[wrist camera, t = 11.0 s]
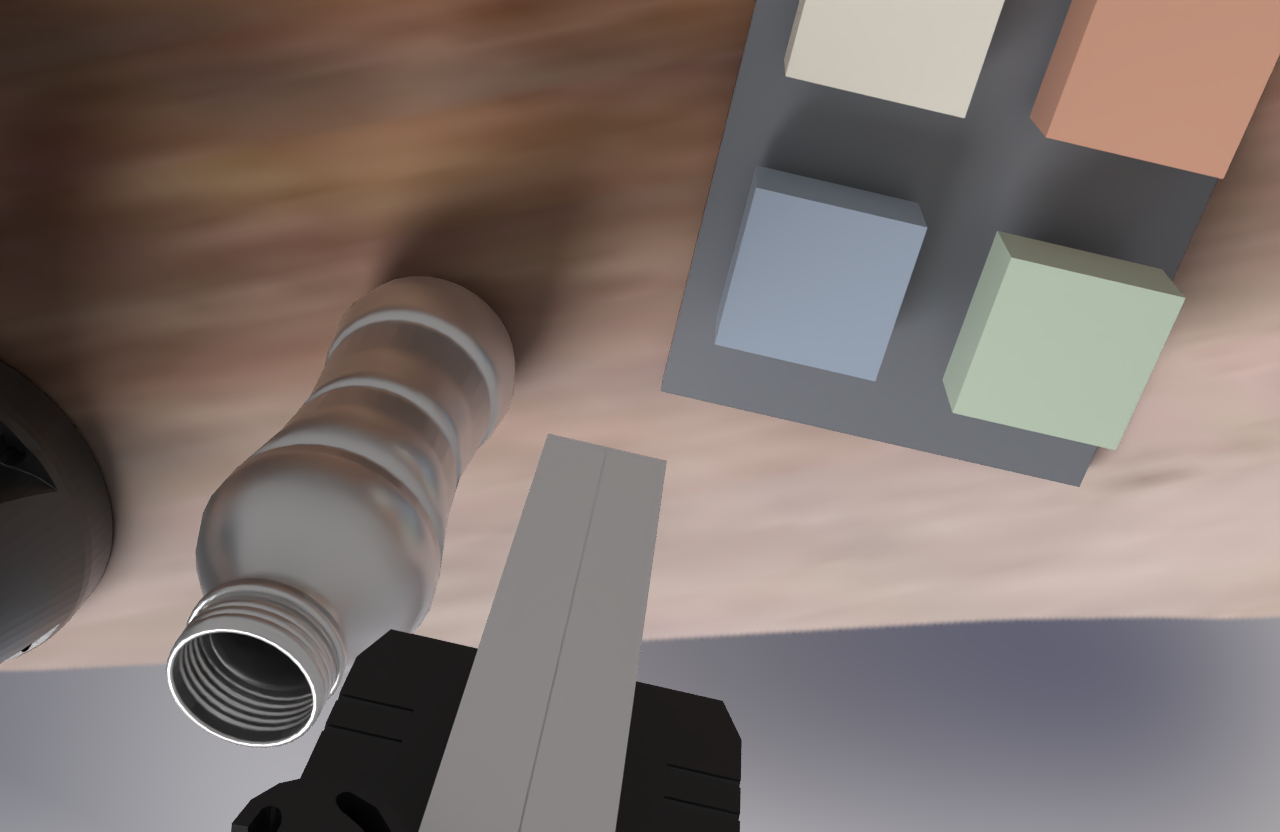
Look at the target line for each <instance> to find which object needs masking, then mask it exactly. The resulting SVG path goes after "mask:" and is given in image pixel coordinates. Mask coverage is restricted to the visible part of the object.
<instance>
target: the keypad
mask: <svg viewBox="0 0 1280 832" xmlns="http://www.w3.org/2000/svg"><path fill="white" fill-rule="evenodd" d="M1071 2H1072V0H1005V1H1004V4H1003V7H1002V10H1001V13H1000V16H999V19H998V21H997V24H996V27H995V30H994V33H993V36H992V39H991V42H990V45H989V48H988V51H987V54H986V57H985V60H984V63H983V66H982V69H981V72H980V74H979V77H978V80H977V83H976V86H975V89H974V92H973V95H972V98H971V101H970V104H969V107H968V110H967V113H966V116H965V118H961V117H957V116H953V115H948V114H944V113H940V112H936V111H931V110H927V109H923V108H918V107H914V106H910V105H906V104H901V103H897V102H893V101H889V100H884V99H880V98H876V97H872V96H867V95H863V94H859V93H855V92H850V91H846V90H842V89H838V88H833V87H829V86H825V85H821V84H816V83H812V82H808V81H804V80H799V79H795V78H791V77H787V76H785V65H784V58H785V54H786V50H787V46H788V42H789V38H790V35H791V31H792V27H793V23H794V19H795V16H796V12H797V8H798V4H799V0H756V2H755V6H754V10H753V14H752V18H751V22H750V26H749V30H748V34H747V38H746V42H745V46H744V50H743V54H742V59H741V63H740V67H739V71H738V75H737V79H736V83H735V87H734V91H733V95H732V99H731V103H730V107H729V111H728V116H727V120H726V124H725V128H724V132H723V136H722V140H721V144H720V148H719V152H718V156H717V160H716V164H715V168H714V172H713V177H712V181H711V185H710V189H709V193H708V197H707V201H706V205H705V209H704V213H703V217H702V221H701V225H700V229H699V233H698V238H697V242H696V246H695V250H694V254H693V258H692V262H691V266H690V270H689V274H688V278H687V282H686V286H685V290H684V295H683V299H682V303H681V307H680V311H679V315H678V319H677V323H676V327H675V331H674V335H673V339H672V343H671V347H670V351H669V356H668V360H667V364H666V368H665V372H664V376H663V380H662V386H661V391H662V392H667V393H671V394H676V395H680V396H684V397H689V398H693V399H697V400H702V401H706V402H710V403H715V404H719V405H724V406H728V407H732V408H737V409H741V410H745V411H750V412H754V413H758V414H763V415H767V416H772V417H776V418H780V419H785V420H789V421H793V422H798V423H802V424H806V425H811V426H815V427H820V428H824V429H828V430H833V431H837V432H841V433H846V434H850V435H854V436H859V437H863V438H868V439H872V440H876V441H881V442H885V443H889V444H894V445H898V446H903V447H907V448H911V449H916V450H920V451H924V452H929V453H933V454H937V455H942V456H946V457H951V458H955V459H959V460H964V461H968V462H972V463H977V464H981V465H985V466H990V467H994V468H999V469H1003V470H1007V471H1012V472H1016V473H1020V474H1025V475H1029V476H1033V477H1038V478H1042V479H1047V480H1051V481H1055V482H1060V483H1064V484H1068V485H1073V486H1077V487H1080V484H1081V482H1082V480H1083V478H1084V475H1085V473H1086V471H1087V469H1088V467H1089V464H1090V462H1091V460H1092V458H1093V455H1094V453H1095V451H1096V449H1097V447H1098V446H1095V445H1090V444H1086V443H1082V442H1077V441H1073V440H1069V439H1064V438H1060V437H1055V436H1051V435H1047V434H1042V433H1038V432H1034V431H1029V430H1025V429H1021V428H1016V427H1012V426H1008V425H1003V424H999V423H995V422H990V421H986V420H982V419H977V418H973V417H968V416H964V415H960V414H955V413H952V410H951V406H950V403H949V400H948V396H947V393H946V390H945V387H944V383H943V380H942V379H943V376H944V374H945V371H946V368H947V366H948V363H949V360H950V357H951V355H952V352H953V349H954V347H955V344H956V341H957V338H958V336H959V333H960V330H961V328H962V325H963V322H964V319H965V317H966V314H967V311H968V309H969V306H970V303H971V301H972V298H973V295H974V292H975V290H976V287H977V284H978V282H979V279H980V276H981V273H982V271H983V268H984V265H985V263H986V260H987V257H988V254H989V252H990V249H991V246H992V244H993V241H994V238H995V235H996V233H997V231H1001V232H1005V233H1009V234H1014V235H1018V236H1022V237H1026V238H1031V239H1035V240H1039V241H1044V242H1048V243H1052V244H1056V245H1061V246H1065V247H1069V248H1074V249H1078V250H1082V251H1086V252H1091V253H1095V254H1099V255H1104V256H1108V257H1112V258H1116V259H1121V260H1125V261H1129V262H1134V263H1138V264H1142V265H1147V266H1151V267H1155V268H1159V269H1162V270H1163V271H1164V272H1165V273H1166V275H1167V276H1168V277H1169V278H1170V280H1171V281H1172V280H1173V278H1174V276H1175V273H1176V271H1177V269H1178V267H1179V264H1180V262H1181V260H1182V258H1183V256H1184V253H1185V251H1186V249H1187V247H1188V244H1189V242H1190V240H1191V238H1192V236H1193V233H1194V231H1195V229H1196V227H1197V225H1198V222H1199V220H1200V218H1201V216H1202V213H1203V211H1204V209H1205V207H1206V205H1207V202H1208V200H1209V198H1210V196H1211V193H1212V191H1213V189H1214V187H1215V185H1216V182H1217V180H1218V178H1216V177H1212V176H1208V175H1204V174H1199V173H1195V172H1191V171H1187V170H1182V169H1178V168H1174V167H1170V166H1165V165H1161V164H1157V163H1152V162H1148V161H1144V160H1140V159H1135V158H1131V157H1127V156H1123V155H1118V154H1114V153H1110V152H1106V151H1101V150H1097V149H1093V148H1089V147H1084V146H1080V145H1076V144H1072V143H1067V142H1063V141H1059V140H1055V139H1050V138H1046V137H1045V136H1044V135H1043V133H1042V132H1041V131H1040V130H1039V128H1038V127H1037V126H1036V125H1035V123H1034V122H1033V121H1032V120H1031V118H1030V114H1031V111H1032V109H1033V106H1034V103H1035V100H1036V98H1037V95H1038V92H1039V89H1040V87H1041V84H1042V81H1043V78H1044V76H1045V73H1046V70H1047V67H1048V65H1049V62H1050V59H1051V56H1052V54H1053V51H1054V48H1055V46H1056V43H1057V40H1058V37H1059V35H1060V32H1061V29H1062V26H1063V24H1064V21H1065V18H1066V15H1067V13H1068V10H1069V7H1070V4H1071ZM756 165H757V166H762V167H766V168H770V169H775V170H779V171H783V172H787V173H792V174H796V175H800V176H805V177H809V178H813V179H817V180H822V181H826V182H830V183H835V184H839V185H843V186H847V187H852V188H856V189H860V190H865V191H869V192H873V193H877V194H882V195H886V196H890V197H895V198H899V199H903V200H907V201H912V202H916V203H918V204H919V206H920V209H921V212H922V214H923V217H924V220H925V222H926V225H927V230H926V233H925V236H924V239H923V242H922V245H921V248H920V251H919V254H918V257H917V260H916V263H915V266H914V269H913V272H912V275H911V278H910V281H909V283H908V286H907V289H906V292H905V295H904V298H903V301H902V304H901V307H900V310H899V313H898V316H897V319H896V322H895V325H894V328H893V331H892V334H891V336H890V339H889V342H888V345H887V348H886V351H885V354H884V357H883V360H882V363H881V366H880V369H879V372H878V375H877V378H876V381H871V380H867V379H863V378H858V377H854V376H850V375H845V374H841V373H837V372H832V371H828V370H824V369H819V368H815V367H811V366H806V365H802V364H797V363H793V362H789V361H784V360H780V359H776V358H771V357H767V356H763V355H758V354H754V353H750V352H745V351H741V350H737V349H732V348H728V347H724V346H719V345H715V332H716V320H717V313H718V309H719V305H720V301H721V298H722V294H723V290H724V286H725V282H726V279H727V275H728V271H729V267H730V263H731V260H732V256H733V252H734V248H735V244H736V240H737V237H738V233H739V229H740V225H741V221H742V218H743V214H744V210H745V206H746V202H747V199H748V195H749V191H750V187H751V183H752V179H753V176H754V172H755V168H756Z"/></svg>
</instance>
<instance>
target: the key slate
mask: <svg viewBox="0 0 1280 832" xmlns="http://www.w3.org/2000/svg"><path fill="white" fill-rule="evenodd" d="M926 230H927V225H926V222H925V220H924V217H923V214H922V212H921V209H920V206H919V204H918V203H916V202H912V201H907V200H903V199H899V198H895V197H890V196H886V195H882V194H877V193H873V192H869V191H865V190H860V189H856V188H852V187H847V186H843V185H839V184H835V183H830V182H826V181H822V180H817V179H813V178H809V177H805V176H800V175H796V174H792V173H787V172H783V171H779V170H775V169H770V168H766V167H762V166H757V165H756V168H755V172H754V176H753V179H752V183H751V187H750V191H749V195H748V199H747V202H746V206H745V210H744V214H743V218H742V221H741V225H740V229H739V233H738V237H737V240H736V244H735V248H734V252H733V256H732V260H731V263H730V267H729V271H728V275H727V279H726V282H725V286H724V290H723V294H722V298H721V301H720V305H719V309H718V313H717V320H716V332H715V345H719V346H724V347H728V348H732V349H737V350H741V351H745V352H750V353H754V354H758V355H763V356H767V357H771V358H776V359H780V360H784V361H789V362H793V363H797V364H802V365H806V366H811V367H815V368H819V369H824V370H828V371H832V372H837V373H841V374H845V375H850V376H854V377H858V378H863V379H867V380H871V381H876V378H877V375H878V372H879V369H880V366H881V363H882V360H883V357H884V354H885V351H886V348H887V345H888V342H889V339H890V336H891V334H892V331H893V328H894V325H895V322H896V319H897V316H898V313H899V310H900V307H901V304H902V301H903V298H904V295H905V292H906V289H907V286H908V283H909V281H910V278H911V275H912V272H913V269H914V266H915V263H916V260H917V257H918V254H919V251H920V248H921V245H922V242H923V239H924V236H925V233H926Z"/></svg>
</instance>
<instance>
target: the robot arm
mask: <svg viewBox="0 0 1280 832" xmlns="http://www.w3.org/2000/svg"><path fill="white" fill-rule="evenodd" d="M665 469H666V461H665V460H660V459H656V458H652V457H647V456H643V455H639V454H634V453H630V452H626V451H621V450H617V449H613V448H608V447H604V446H600V445H595V444H591V443H587V442H582V441H578V440H574V439H569V438H565V437H561V436H556V435H552V434H548V436H547V439H546V442H545V445H544V448H543V451H542V454H541V457H540V460H539V463H538V466H537V469H536V472H535V476H534V479H533V482H532V485H531V488H530V491H529V494H528V497H527V500H526V503H525V506H524V509H523V512H522V515H521V519H520V522H519V525H518V528H517V531H516V534H515V537H514V540H513V543H512V546H511V549H510V552H509V555H508V558H507V561H506V565H505V568H504V571H503V574H502V577H501V580H500V583H499V586H498V589H497V592H496V595H495V598H494V601H493V604H492V608H491V611H490V614H489V617H488V620H487V623H486V626H485V629H484V632H483V635H482V638H481V641H480V644H479V647H478V649H477V648H472V647H468V646H464V645H459V644H455V643H450V642H446V641H441V640H437V639H433V638H428V637H424V636H419V635H415V634H411V633H406V632H402V631H397V630H393V629H390V630H389V631H388V632H387V633H385V634H384V635H383V636H382V637H380V638H379V639H378V640H377V641H375V642H374V643H373V644H372V645H370V646H369V647H368V648H367V649H365V650H364V651H363V652H362V653H360V654H359V655H358V656H357V657H356V659H355V661H354V663H353V665H352V668H351V670H350V672H349V674H348V676H347V678H346V681H345V683H344V685H343V687H342V689H341V691H340V695H339V698H338V700H337V701H336V702H335V704H334V707H333V709H332V711H331V713H330V715H329V718H328V720H327V722H326V725H325V729H324V731H322V733H321V735H320V737H319V739H318V741H317V743H316V746H315V748H314V750H313V752H312V754H311V756H310V759H309V761H308V763H307V765H306V767H305V769H304V772H303V774H302V776H301V778H300V779H297V780H292V781H288V782H283V783H279V784H277V785H276V786H274V787H272V788H270V789H269V790H267V791H265V792H263V793H262V794H260V795H258V796H257V797H255V798H253V799H251V800H250V802H249V803H248V804H247V805H246V807H245V808H244V809H243V810H242V812H241V813H240V814H239V815H238V817H237V818H236V819H235V820H234V822H233V823H232V829H231V832H740V821H739V814H740V788H739V785H740V781H741V738H740V736H739V734H738V732H737V730H736V728H735V726H734V724H733V721H732V719H731V717H730V715H729V713H728V711H727V709H726V707H725V705H724V703H723V701H720V700H716V699H711V698H707V697H703V696H698V695H694V694H690V693H685V692H681V691H676V690H672V689H667V688H663V687H659V686H654V685H650V684H645V683H641V682H637V681H636V678H637V671H638V664H639V656H640V649H641V642H642V635H643V628H644V620H645V613H646V606H647V599H648V591H649V584H650V577H651V570H652V562H653V555H654V548H655V541H656V534H657V526H658V519H659V512H660V505H661V497H662V490H663V483H664V476H665ZM112 534H113V525H112V513H111V506H110V501H109V496H108V493H107V489H106V486H105V483H104V480H103V478H102V475H101V472H100V470H99V468H98V466H97V464H96V461H95V459H94V458H93V456H92V454H91V452H90V450H89V448H88V447H87V445H86V444H85V442H84V441H83V439H82V437H81V436H80V435H79V433H78V432H77V430H76V429H75V428H74V426H73V425H72V424H71V422H70V421H69V420H68V419H67V418H66V416H65V415H64V414H63V413H62V412H61V411H60V410H59V409H58V407H57V406H56V405H55V404H54V403H53V402H52V401H51V400H50V399H49V398H48V397H47V396H46V395H45V394H44V393H42V392H41V391H40V390H39V389H38V388H37V387H36V386H34V385H33V384H32V383H31V382H30V381H28V380H27V379H26V378H24V377H23V376H22V375H20V374H19V373H18V372H16V371H15V370H13V369H12V368H10V367H9V366H7V365H6V364H4V363H3V362H1V361H0V664H1V663H2V662H5V661H8V660H11V659H14V658H16V657H18V656H20V655H22V654H24V653H26V652H28V651H30V650H32V649H34V648H36V647H38V646H39V645H41V644H42V643H44V642H45V641H47V640H48V639H49V638H51V637H52V636H53V635H54V634H55V633H57V632H58V631H59V630H60V629H61V628H62V627H63V626H64V625H65V624H66V623H67V622H68V621H69V620H70V619H71V617H72V616H73V615H74V614H75V612H76V611H77V610H78V609H79V608H80V606H81V605H82V604H83V603H84V602H85V600H86V599H87V598H88V597H89V596H90V594H91V593H92V592H93V590H94V589H95V588H96V586H97V584H98V583H99V581H100V580H101V577H102V575H103V573H104V571H105V569H106V566H107V563H108V560H109V556H110V552H111V545H112Z"/></svg>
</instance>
